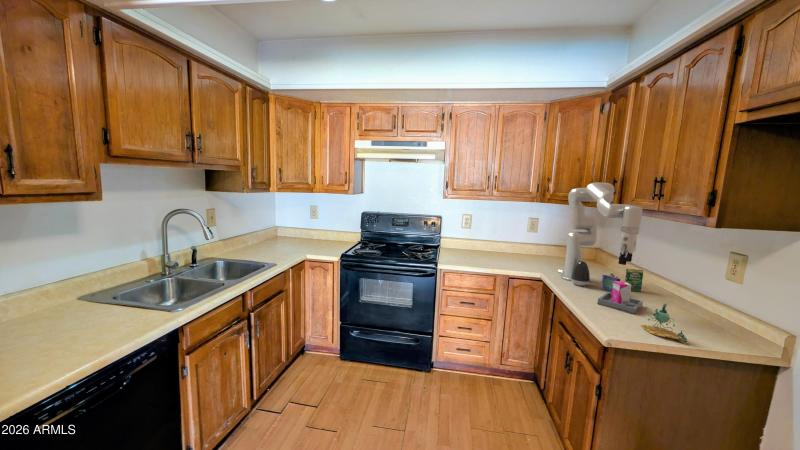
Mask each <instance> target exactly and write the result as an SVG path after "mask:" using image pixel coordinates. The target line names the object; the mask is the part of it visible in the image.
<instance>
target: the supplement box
mask: <svg viewBox="0 0 800 450" xmlns="http://www.w3.org/2000/svg"><path fill="white" fill-rule="evenodd" d="M631 292H632V291H631V284H629V283H626V282H625V280H620V281H613V290H612V298H611V302H615V303H618V304H622V305H626V306H629V301H630V298H631Z"/></svg>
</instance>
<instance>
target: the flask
mask: <svg viewBox="0 0 800 450" xmlns="http://www.w3.org/2000/svg"><path fill="white" fill-rule="evenodd" d="M601 278H602V279H601V282H600V283H601V285H600V290H602V291H604V292H606V293H607V292H609V293H610V292H611V293H612V290H613V281H621V278H620V277H618V276H616V275H615V274H614V272H610V273H609V274H607V273H602V277H601Z"/></svg>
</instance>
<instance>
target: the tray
mask: <svg viewBox="0 0 800 450" xmlns="http://www.w3.org/2000/svg"><path fill="white" fill-rule="evenodd" d="M611 298H612V293H610V292H607V291H606V293H603V295H602V296H600V297H598V299H597V305H599V306H603V307H607V308H611V309H614V310H617V311H620V312H624V313H626V314H628V313H629V314H632V315H636V314H637V313H638V312H639V310H641V308H643V305H644V300H640V299H637V298H633V297H630V301H629V306H626V305H622V304H618V303H615V302H611Z"/></svg>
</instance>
